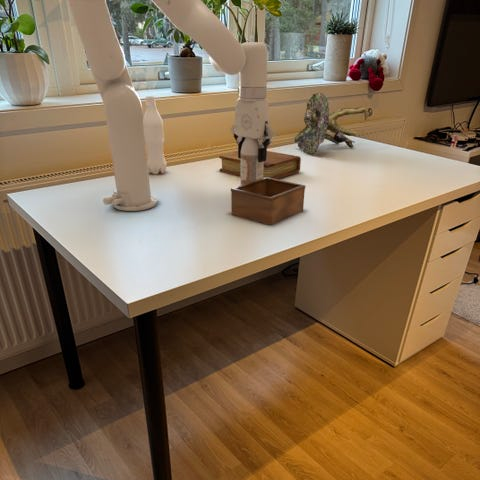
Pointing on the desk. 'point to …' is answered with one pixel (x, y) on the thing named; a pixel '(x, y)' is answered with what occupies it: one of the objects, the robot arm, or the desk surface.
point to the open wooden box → (267, 200)
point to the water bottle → (154, 137)
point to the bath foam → (250, 161)
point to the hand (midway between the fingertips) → (252, 159)
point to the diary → (273, 166)
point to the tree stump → (323, 125)
